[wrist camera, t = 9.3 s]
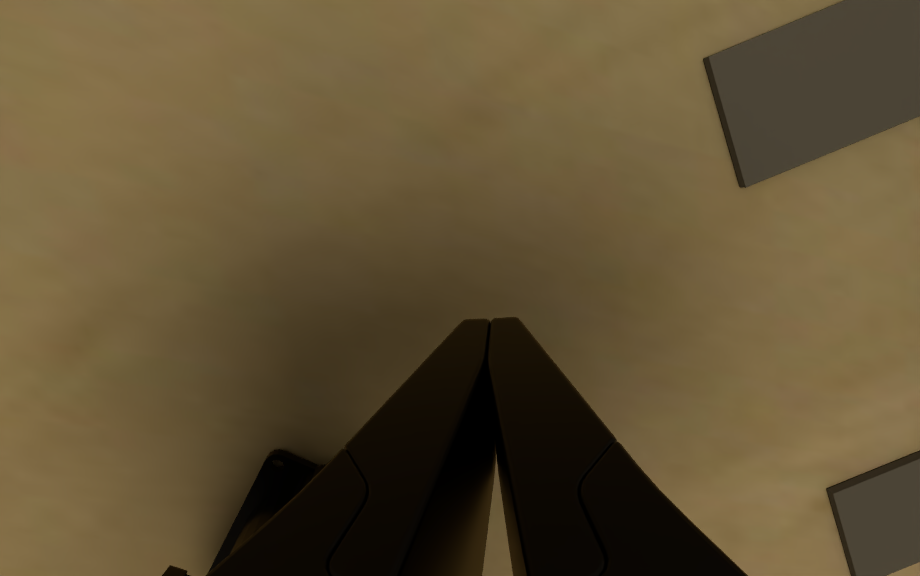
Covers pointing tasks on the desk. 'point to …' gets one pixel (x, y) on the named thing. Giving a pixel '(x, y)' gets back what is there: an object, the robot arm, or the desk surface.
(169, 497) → the desk surface
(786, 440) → the desk surface
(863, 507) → the pads
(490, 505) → the robot arm
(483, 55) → the desk surface
